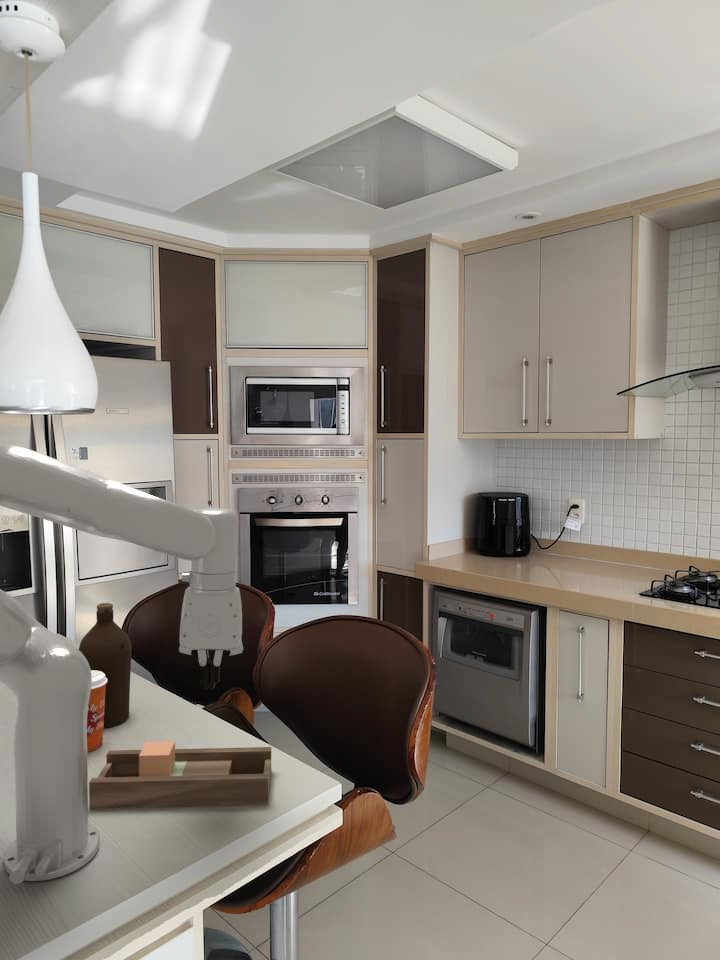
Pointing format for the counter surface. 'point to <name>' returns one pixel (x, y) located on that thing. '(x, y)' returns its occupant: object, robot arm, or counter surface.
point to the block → (157, 759)
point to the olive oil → (110, 663)
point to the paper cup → (96, 711)
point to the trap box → (185, 779)
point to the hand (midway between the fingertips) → (210, 686)
